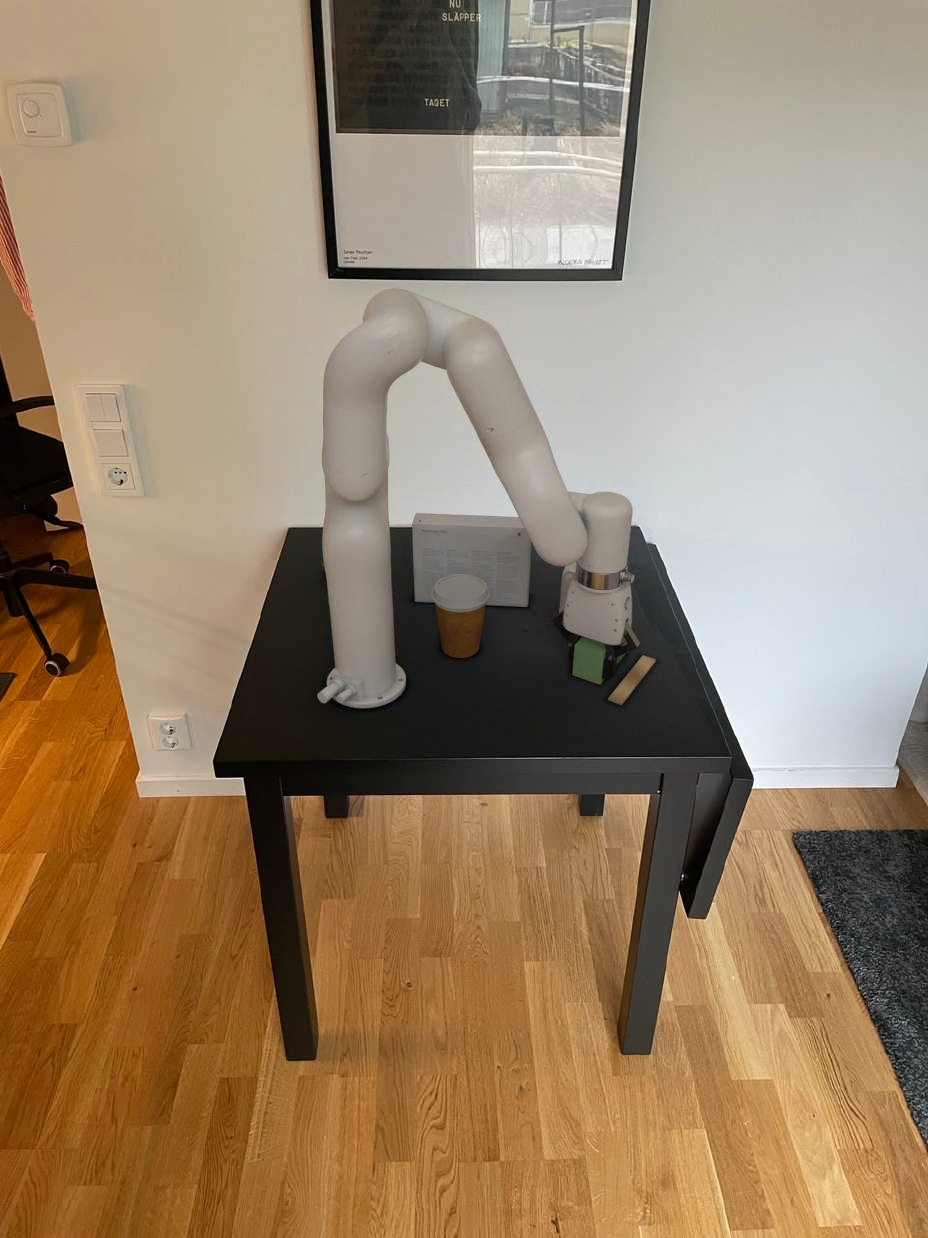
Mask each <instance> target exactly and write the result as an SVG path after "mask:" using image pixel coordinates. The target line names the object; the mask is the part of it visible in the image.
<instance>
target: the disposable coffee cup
mask: <svg viewBox="0 0 928 1238" xmlns="http://www.w3.org/2000/svg"><path fill="white" fill-rule="evenodd" d="M431 594H432V598H433V600H434V606H435V611H436V612H435V613H436V618H437V619H436V620H437V625H438V631H439V637H440V644H441V649H442V651H443V653H444V654H445V655H447V656H449V657H452V658H456V659H465V658H469V657H472V656H474V655H475V654H478V651H479V649H480V643H481V638H482V636H481V635H482V631H483V625H484V618H485V611H486V606H487V605H486V602H487V600H488V599H489V590H488V589H487V586H486V584H485V582H484V581H483V580H482V579H480V578H478V577H476V576H472V575H467V574H453V575H449V576H445V577H443V578H441V579H439V580H438V581H437V582H436V583H435V586H434V588H433V590H432V593H431Z"/></svg>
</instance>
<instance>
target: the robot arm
mask: <svg viewBox="0 0 928 1238" xmlns="http://www.w3.org/2000/svg"><path fill="white" fill-rule="evenodd" d="M326 361H327V362H326V365H325V368H324V373H323V381H322V383H323V384H322V386H323V387H322V434H323V435H322V436H323V439H322V447H321V467H322V471H323V475H324V494H325V507H324V509H325V510H324V518H323V524H322V525H323V526H322V527H323V528H322V536H321V537H322V538H321V547H322V558H323V559H324V566H325V571H324V572H325V579H326V584H327V585H326V587H327V596H328V606H329V616H330V617H329V618H330V626H331V637H332V648H333V659H334V668H333V669H332V670H331V671H330V672H329V674H328V676H327V678H326V687H324V688H323V689H321V690H320V691H319V692H318V693H317V695H316V696H317V699H318V700H319V702H320V703H322V704H326V703H328V702H329V701H331V699H333V700H334V701H335V702H337V703H339V704H340V705H343V706H347V707H349V708H353V709H371V708H372V709H373V708H378V707H381V706H385V705H387V704H389V703H392V702H394V701H395V700H396V699H398V698H399V697H400V696H401V695H403V692H404V691H405V689H406V687H407V675H406V672H405V670H404V669H403V668H402V666H400V665H398V663H396V643H395V623H394V622H395V621H394V603H393V602H394V601H393V586H392V563H391V561H392V558H391V557H392V553H391V552H392V548H391V531H390V530H391V529H390V527H391V526H390V516H389V515H390V514H389V466H390V439H389V434H388V432H387V425H388V424H387V423H388V422H387V421H388V420H387V416H388V399H389V397H388V395H389V392H390V390H391V387H392V385H393V384H394V383H395V381H396V380H397V379H399V378H400V377H402V376H403V375H405V374H407V373H408V372H410V371H412V370H413V369H414V368H416V367H417V366H418V365H419V363H424V364H427V365H429V366H432V367H435V368H439V369H441V370H445V371H446V374H447V378H448V380H449V382H450V385H451V386H452V388H453V391H454V393H455V395H456V397H457V398H458V400H459V402H460V404H461V407H462V408H463V409H464V410H463V411H464V412H465V413H466V415H467V417H468V419H469V422H470V423H471V425H472V427H473V429H474V431H475V433H476V435H477V437H478V440H479V441H480V444H481V446H482V447H483V450H484V452H485V454H486V456H487V457H488V460H489V462H490V463H491V466H492V467H493V468H492V469H493V471H494V472H495V474H496V476H497V478H498V479H499V482H500V483H501V484H502V486H503V488H504V489H505V492H506V493H507V496H508V498H509V499H510V502H511V504H512V506H513V508H514V510H515V512H516V514H517V517H519V518H520V520H521V522H522V524H523V526H524V528H525V530H526V532H527V534H528V536H529V538H530V540H531V545H532V546H533V548H534V549H535V551H536V553H537V555H538V557H539V558H540V559H541V560H542V561H544V562H546V563H547V564H549V565H551V566H555V567H565V566H568V565H571V564H573V563H575V562H577V564H576V571H575V573H574V574H573V575H572V578H571V581H570V584H569V588H568V592H567V596H566V601H565V607H564V610H563V611H562V612H560V613H559V612H558V614H556V615H555V616H554V617H553V618H552V620H551V621H552V623H553V625H555V627H556V628H557V629H558V630H559V631H560V633H561V635H562V636H563V637H564V639H565V640H566V646H568V647H569V649H568V660H569V661H570V664H569V668H570V669H572V670H573V661H574V648H575V644H576V643H577V642H578V641H579V640H580V639H581V638H582V636H584V637H587V638H590V639H593V640H596V641H599V642H602V643H605V648H606V653H607V657H606V658H605V659H604V664H603V674H602V678H603V679H604V681H607V680H608V679H609V677H610V676H611V675H614V674H615V673H616V671H617V665H618V664H617V657H619V656H621V655H623V654H625V655H626V653H629V652H632V651H635V650H637V649H638V648H639V647H640V645H641V643H640V640H639V639H638V637H637V636H636V634H635V632H634V630H633V629H632V622H633V597H632V596H633V595H632V588H631V584H633V583H634V580H635V574H633V573H631V572H629V569H628V568H629V565H628V558H629V550H630V549H629V547H630V539H631V532H632V531H631V530H632V523H633V522H632V521H633V505H632V502H631V500H630V499H629V498H627V497H626V496H625V495H623V494H621V493H618V492H614V491H597V492H593V493H584V492H576V491H569V490H568V489H567V487H566V484H565V482H564V480H563V478H562V475H561V473H560V470H559V467H558V465H557V462H556V460H555V457H554V453H553V450H552V447H551V445H550V441H549V439H548V436H547V433H546V432H545V429H544V426H543V425H542V424H543V423H542V422H541V420H540V418H539V416H538V414H537V411H536V410H535V408H534V405H533V403H532V401H531V399H530V396H529V395H528V393H527V391H526V389H525V385H524V384H523V382H522V380H521V377H520V376H519V374H518V371H517V369H516V367H515V365H514V363H513V360H512V358H511V356H510V354H509V352H508V350H507V348H506V345H505V342H504V341H503V339H502V337H501V334H500V332H499V331H498V330H497V329H496V328H495V326H494V325H492V324H491V323H489V322H488V321H487V320H484V319H482V318H480V317H478V316H476V315H473V314H471V313H468V312H466V311H462V310H460V309H457V308H455V307H452V306H449V305H447V304H444V303H441V302H440V301H437V300H434V299H431V298H429V297H426V296H424V295H422V294H419V293H417V292H413V291H411V290H407V289H403V288H396V287H394V288H387V289H384V290H380V291H379V292H378V293H375V295H374V296H372V297H371V298H370V300H369V301H368V302H367V304H366V306H365V308H364V311H363V316H362V323H361V324H360V325H358V326H357V327H355V328H354V329H352V330H351V331H349V332H348V333H347V334H345V335H344V336H343V337H342V339H340V340H339V342H338V343H337V344H336V345H335V347H334V348H333V350H332V351H331V353H330V355H329V356H328V359H327V360H326ZM623 637H624V638H625V640H626V642H627V643H622V644H621V645H620V643H621V639H622V638H623Z"/></svg>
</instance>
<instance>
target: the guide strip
mask: <svg viewBox="0 0 928 1238" xmlns="http://www.w3.org/2000/svg"><path fill="white" fill-rule="evenodd" d="M656 662H657V659H656V658H653V657H650V656H646V655H642V656H641V657H640V658H639V659H638V660H637V662H636V663H635V664H634V665H633V667H632V668H631V670H629V672H628V673H627V674H626V676H625V677H624V678H623V679H622V681H620V682H619V684H618V685H617V686H616V688H615V689H614V690H613V691H612V693H611V694H610V695H609V696H608V698H607V701H609V702H611V703H615V704H617V705H620V706H623V704H624V703H625V702H626V701H627V699H628V698H629V697H630V695H632V693H633V691H634V690H635V689H636V688H637V687H638V685H639V684H640V683H641V681H642V680H643V678H645V676H646V674H648V672H649V671H650V670H651V668H653V666H654V665H655V663H656Z"/></svg>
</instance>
